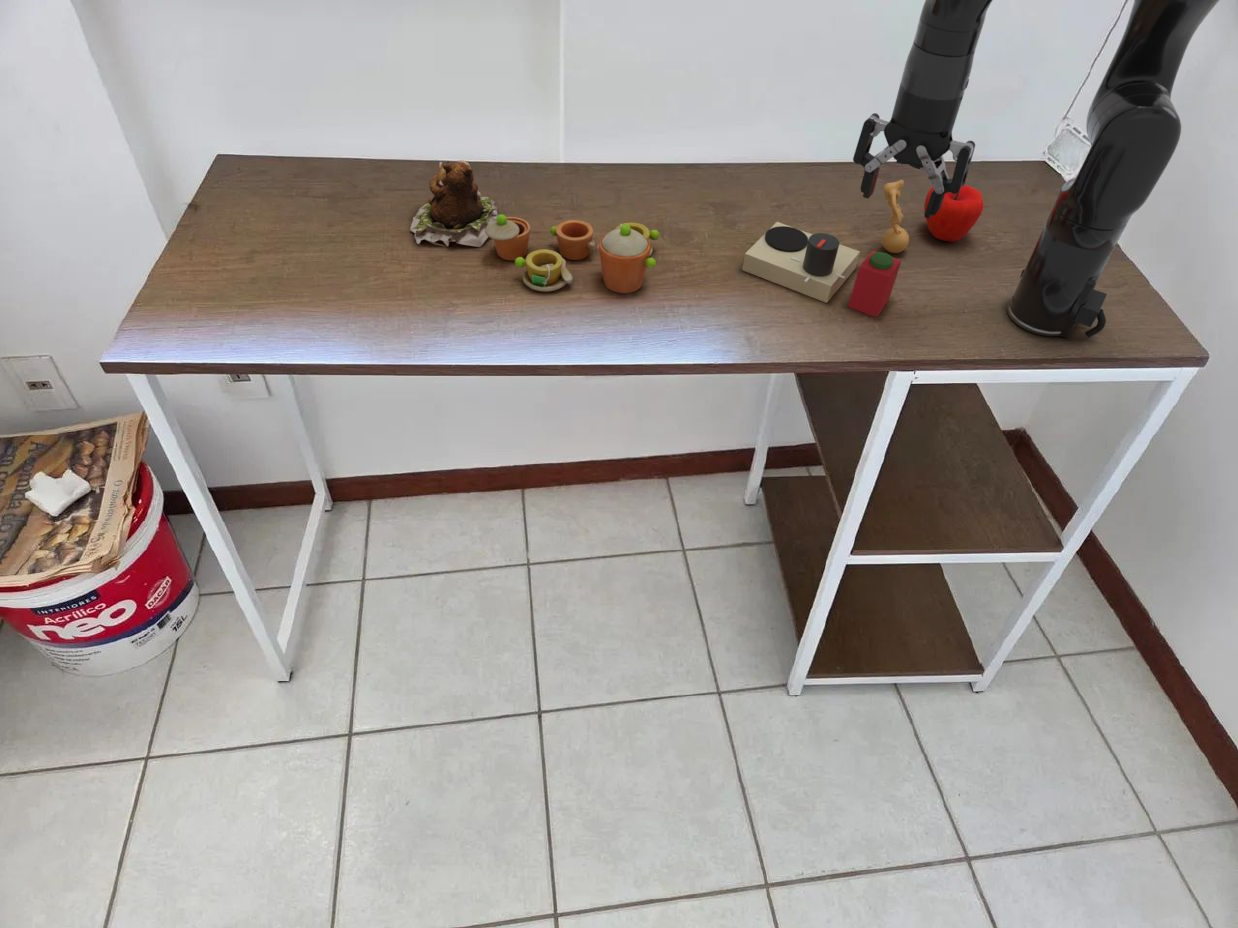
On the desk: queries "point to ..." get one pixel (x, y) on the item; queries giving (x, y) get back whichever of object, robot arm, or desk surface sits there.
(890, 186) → the figurine
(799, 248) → the burner
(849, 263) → the hob
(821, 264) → the hob knob
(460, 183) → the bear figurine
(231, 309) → the desk surface
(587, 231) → the toy tea set
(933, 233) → the apple
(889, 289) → the red block green button
